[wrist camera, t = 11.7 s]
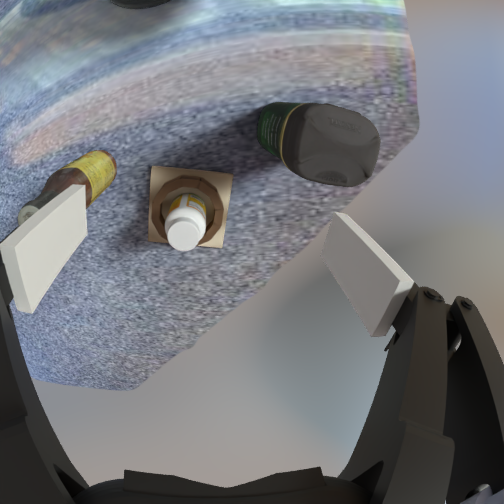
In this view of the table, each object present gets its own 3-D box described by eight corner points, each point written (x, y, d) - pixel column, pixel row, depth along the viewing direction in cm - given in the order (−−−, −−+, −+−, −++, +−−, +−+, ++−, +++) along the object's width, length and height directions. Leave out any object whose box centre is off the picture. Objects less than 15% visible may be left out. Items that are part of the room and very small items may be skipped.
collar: (152, 165, 39) (148, 170, 36) (233, 173, 42) (234, 178, 39) (148, 238, 45) (145, 247, 42) (221, 245, 47) (222, 254, 44)
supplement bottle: (173, 227, 43) (165, 258, 35) (168, 193, 41) (157, 218, 32) (207, 223, 44) (207, 254, 35) (204, 190, 41) (203, 213, 33)
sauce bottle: (94, 141, 36) (20, 174, 18) (126, 162, 38) (68, 209, 21) (75, 176, 38) (3, 230, 20) (105, 197, 40) (47, 262, 23)
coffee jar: (252, 150, 40) (282, 183, 24) (261, 98, 37) (299, 93, 20) (314, 160, 42) (375, 199, 26) (324, 111, 38) (395, 122, 22)
